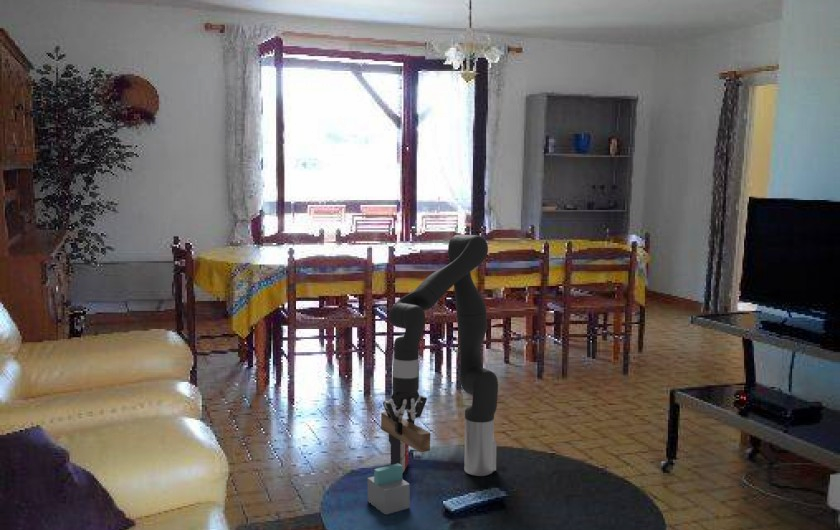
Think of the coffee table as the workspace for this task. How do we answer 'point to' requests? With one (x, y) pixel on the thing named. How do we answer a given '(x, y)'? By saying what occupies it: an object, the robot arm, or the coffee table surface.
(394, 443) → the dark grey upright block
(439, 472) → the coffee table surface
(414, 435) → the walnut beam
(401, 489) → the balance stand
